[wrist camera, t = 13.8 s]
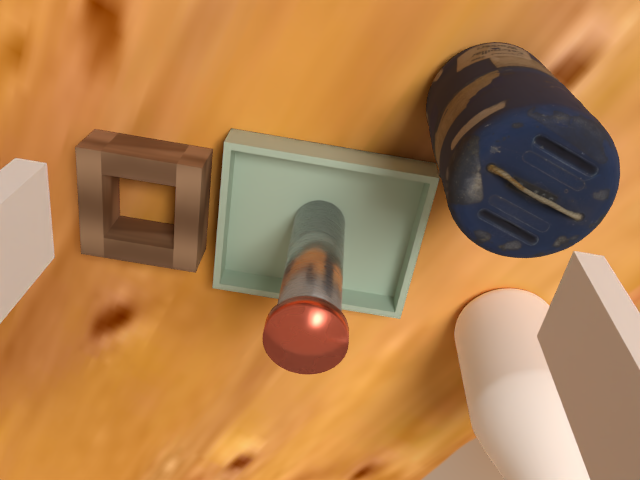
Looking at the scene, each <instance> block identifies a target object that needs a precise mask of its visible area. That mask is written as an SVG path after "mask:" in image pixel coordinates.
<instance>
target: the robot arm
mask: <svg viewBox="0 0 640 480" xmlns="http://www.w3.org/2000/svg"><path fill="white" fill-rule="evenodd" d="M54 258H55V255H54V243H53V231H52V219H51V207H50V195H49V183H48V172H47V163H43V162H37V161H31V160H25V159H19V158H15V159H13V160H12V161H11V162H10V163H8V164H7V165H6V166H5V167H3V168H2V169H1V170H0V323H1V322H2V321H3V320H4V318H5V317H6V316H7V315H8V314H9V312H10V311H11V310H12V309H13V307H14V306H15V305H16V304H17V303H18V301H19V300H20V299H21V298H22V297H23V295H24V294H25V293H26V292H27V290H28V289H29V288H30V287H31V286H32V284H33V283H34V282H35V281H36V279H37V278H38V277H39V276H40V275H41V273H42V272H43V271H44V270H45V268H46V267H47V266H48V265H49V264H50V262H51V261H52V260H53V259H54ZM537 338H538V341H539V343H540V346H541V349H542V351H543V354H544V357H545V359H546V362H547V365H548V368H549V370H550V373H551V376H552V378H553V381H554V384H555V386H556V389H557V392H558V394H559V397H560V400H561V402H562V405H563V408H564V411H565V413H566V416H567V419H568V421H569V424H570V427H571V429H572V432H573V435H574V437H575V440H576V443H577V445H578V448H579V451H580V453H581V456H582V459H583V462H584V464H585V467H586V470H587V472H588V475H589V478H590V480H640V313H639V311H638V310H637V308H636V306H635V305H634V303H633V302H632V300H631V298H630V297H629V295H628V294H627V292H626V291H625V289H624V287H623V286H622V284H621V283H620V281H619V279H618V278H617V276H616V275H615V273H614V271H613V270H612V268H611V267H610V265H609V263H608V262H607V260H606V259H605V257H604V256H601V255H595V254H589V253H583V252H577V251H573V254H572V256H571V258H570V261H569V263H568V265H567V268H566V270H565V272H564V274H563V277H562V279H561V281H560V284H559V286H558V288H557V291H556V293H555V295H554V298H553V300H552V302H551V304H550V307H549V309H548V311H547V314H546V316H545V318H544V321H543V323H542V325H541V327H540V330H539V332H538V334H537Z"/></svg>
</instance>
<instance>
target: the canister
mask: <svg viewBox="0 0 640 480" xmlns="http://www.w3.org/2000/svg"><path fill="white" fill-rule="evenodd" d="M426 117H427V122H428V125H429V131H430V137H431V142H432V148H433V152H434V156H435V159H436V163H437V165H438V167H439V170H438V172H437V175H438V176H439V177H440V178H441V179H442V182H443V186H444V191H445V194H446V199H447V203H448V207H449V210H450V212H451V215H452V217H453V219H454V221H455V222H456V224H457V225H458V227H459V228H460V230H461V231H462V232H463V233H464V234H465V235H466V236H467V237H468V238H469V239H470V240H471V241H473V242H474V243H475V244H477V245H478V246H480V247H482V248H484V249H485V250H487V251H490V252H492V253H495V254H498V255H502V256H507V257H514V258H533V257H541V256H545V255H549V254H553V253H556V252H559V251H562V250H564V249H567V248H569V247H571V246H573V245H574V244H575V243H577V242H579V241H580V240H582V239H583V238H584V237H586V236H587V235H588V234H589V233H591V232H592V231H593V230H594V229H595V228H596V227H597V226H598V225H599V224H600V223H601V221H602V220H603V218H604V217H605V216H606V214H607V212H608V211H609V209H610V207H611V206H612V204H613V201H614V199H615V196H616V193H617V190H618V186H619V179H620V163H619V157H618V153H617V150H616V147H615V145H614V142H613V140H612V138H611V137H610V135H609V134H608V132H607V131H606V129H605V128H604V127H603V126H602V125H601V123H600V122H599V121H598V120H597V119H596V118H595V117H594V116H593V115H592V114H591V113H590V112H589V111H588V110H587V109H586V108H585V107H584V106H583V104H582V103H581V102H580V101H579V100H578V99H576V98H575V96H574V95H573V94H572V93H571V92H570V91H569V90H568V89H567V88H566V87H565V86H564V85H563V84H562V83H560V82H559V81H558V80H557V79H556V78H555V77H554V76H553V74H552V73H551V72H550V71H549V70H548V69H547V68H546V67H545V66H544V65H543V64H542V63H541V62H540V61H539V60H537V59H536V58H535V57H534V56H533V55H532V54H530V53H529V52H528V51H526V50H524V49H522V48H520V47H518V46H515V45H511V44H507V43H499V42H493V43H484V44H480V45H476V46H473V47H470V48H468V49H466V50H464V51H462V52H460V53H458V54H457V55H456V56H454V57H453V58H452V59H450V60H449V61H448V62H447V63H446V64H445V65H444V66H443V67H442V69H441V70H440V71H439V72H438V74H437V75H436V77H435V79H434V80H433V82H432V85H431V87H430V90H429V93H428V97H427V104H426Z"/></svg>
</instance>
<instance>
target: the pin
mask: <svg viewBox="0 0 640 480" xmlns="http://www.w3.org/2000/svg"><path fill="white" fill-rule="evenodd" d="M344 238H345V218H344V215H343V213H342V212H341V210H340V209H339V208H338V207H337V206H335V205H334V204H332V203H330V202H328V201H323V200H314V201H310V202H307V203H306V204H304V205H302V206H301V207H300V208H299V209H298V211H297V212H296V215H295V218H294V223H293V228H292V233H291V238H290V243H289V248H288V253H287V258H286V264H285V269H284V274H283V279H282V284H281V289H280V294H279V299H278V304H277V305H276V306H275V307H274V308H273V309H272V310H271V311H270V313H269V314H268V316H267V319H266V323H265V328H264V332H263V345H264V348H265V351H266V353H267V354H268V356H269V357H270V358H271V359H272V360H273V361H274V362H275V363H276V364H277V365H279V366H280V367H282V368H284V369H286V370H288V371H291V372H294V373H299V374H317V373H322V372H325V371H327V370H330V369H332V368H333V367H335V366H336V365H337V364H339V363H340V362H341V361H342V359H343V358H344V357H345V355H346V353H347V350H348V343H349V327H348V323H347V320H346V318H345V316H344V315H343V313H342V312H341V309H342V285H343V262H344Z"/></svg>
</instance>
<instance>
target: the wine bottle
mask: <svg viewBox="0 0 640 480" xmlns="http://www.w3.org/2000/svg"><path fill="white" fill-rule="evenodd" d="M549 307H550V306H549V305H548V304H547V303H546V302H545V301H544V300H543V299H542V298H540V297H539V296H537V295H535V294H533V293H531V292H529V291H525V290H521V289H514V288H503V289H497V290H492V291H489V292H486V293H484V294H482V295H480V296H478V297H476V298H475V299H473V300H472V301H471V302H469V303H468V304H467V305H466V306H465V307H464V309H463V310H462V312H461V313H460V315H459V317H458V319H457V321H456V326H455V331H454V338H455V344H456V349H457V354H458V359H459V364H460V369H461V374H462V380H463V385H464V390H465V395H466V400H467V405H468V410H469V416H470V420H471V425H472V428H473V431H474V433H475V435H476V437H477V439H478V441H479V442H480V444H481V446H482V447H483V449H484V451H485V452H486V454H487V456H488V457H489V458H490V460H491V461H492V462H493V464H494V465H495V467H496V468H497V470H498V471H499V473H500V474H501V476H502V477H503V479H504V480H590V478H589V475H588V472H587V470H586V467H585V464H584V462H583V459H582V456H581V453H580V451H579V448H578V445H577V443H576V440H575V437H574V435H573V432H572V429H571V427H570V424H569V421H568V419H567V416H566V413H565V411H564V408H563V405H562V402H561V400H560V397H559V394H558V392H557V389H556V386H555V384H554V381H553V378H552V376H551V373H550V370H549V368H548V365H547V362H546V359H545V357H544V354H543V351H542V349H541V346H540V343H539V341H538V338H537V334H538V332H539V330H540V327H541V325H542V323H543V321H544V318H545V316H546V314H547V311H548V309H549Z"/></svg>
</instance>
